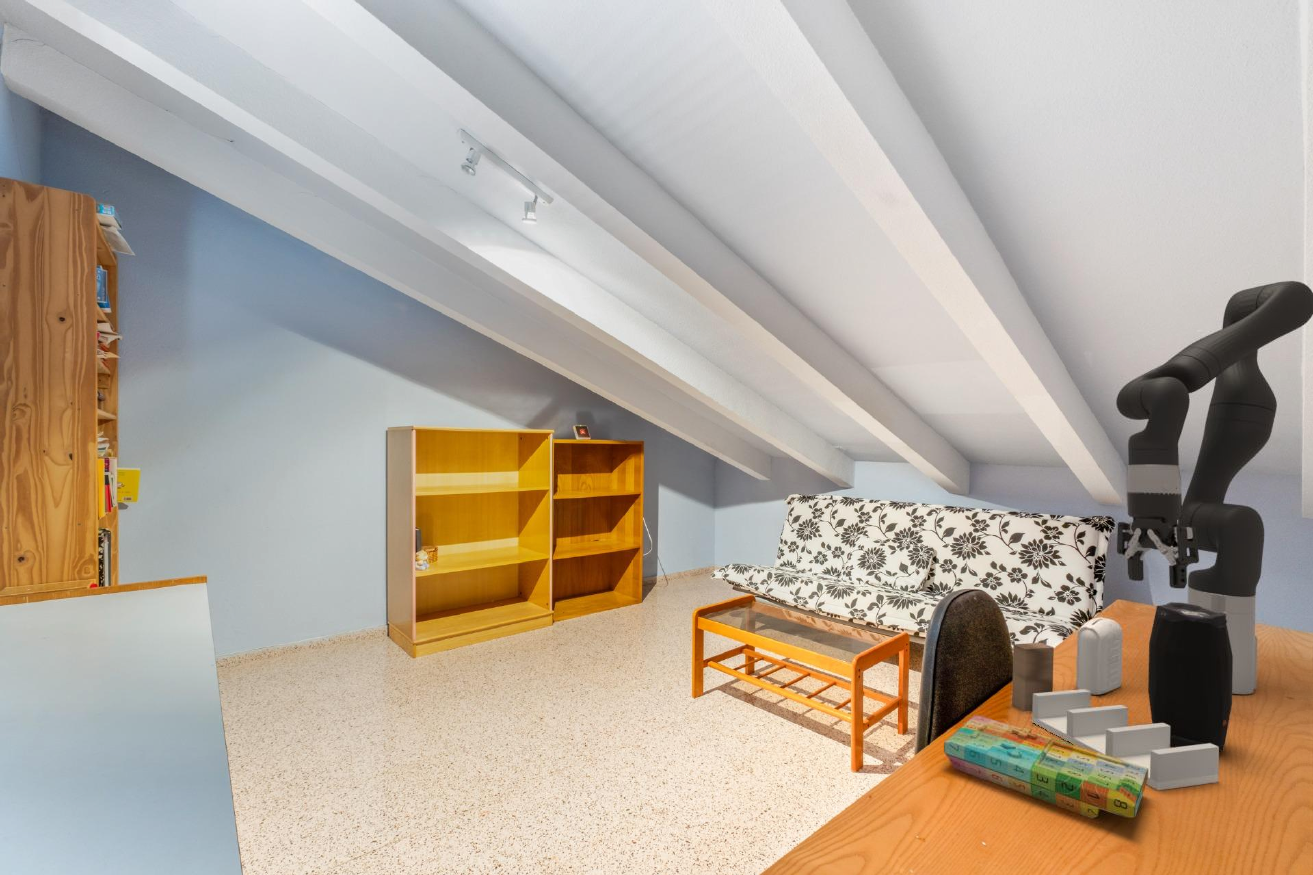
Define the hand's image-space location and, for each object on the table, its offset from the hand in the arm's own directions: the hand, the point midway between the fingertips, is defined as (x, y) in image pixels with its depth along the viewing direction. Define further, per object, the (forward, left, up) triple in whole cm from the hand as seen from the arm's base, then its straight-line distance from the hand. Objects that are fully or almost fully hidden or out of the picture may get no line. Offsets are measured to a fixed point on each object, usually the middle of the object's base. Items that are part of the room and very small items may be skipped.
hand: (1156, 584), depth 109 cm
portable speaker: (+14, +15, -19) cm, 28 cm away
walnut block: (+26, 0, -19) cm, 33 cm away
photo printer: (+7, -4, -20) cm, 21 cm away
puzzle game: (+44, +20, -20) cm, 52 cm away
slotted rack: (+26, +15, -19) cm, 36 cm away
